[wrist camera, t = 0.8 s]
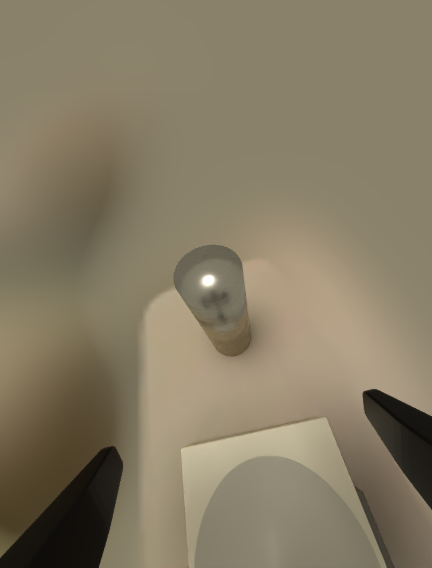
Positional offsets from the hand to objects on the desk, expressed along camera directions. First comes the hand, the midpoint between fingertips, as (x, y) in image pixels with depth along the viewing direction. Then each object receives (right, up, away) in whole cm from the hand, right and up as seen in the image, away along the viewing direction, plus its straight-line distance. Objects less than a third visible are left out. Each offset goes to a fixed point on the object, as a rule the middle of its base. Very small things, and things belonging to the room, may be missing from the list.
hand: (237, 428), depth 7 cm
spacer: (+1, -1, +16) cm, 16 cm away
